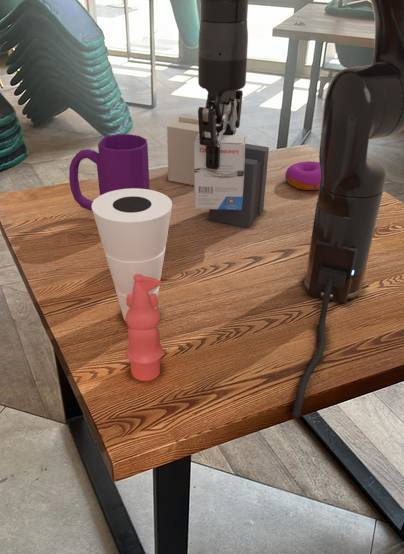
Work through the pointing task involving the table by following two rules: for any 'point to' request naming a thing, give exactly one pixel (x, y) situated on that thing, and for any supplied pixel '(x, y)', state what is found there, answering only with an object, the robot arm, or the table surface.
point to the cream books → (182, 149)
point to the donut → (304, 175)
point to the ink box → (220, 175)
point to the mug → (114, 166)
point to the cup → (133, 236)
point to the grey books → (248, 189)
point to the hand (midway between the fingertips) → (219, 162)
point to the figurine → (143, 329)
